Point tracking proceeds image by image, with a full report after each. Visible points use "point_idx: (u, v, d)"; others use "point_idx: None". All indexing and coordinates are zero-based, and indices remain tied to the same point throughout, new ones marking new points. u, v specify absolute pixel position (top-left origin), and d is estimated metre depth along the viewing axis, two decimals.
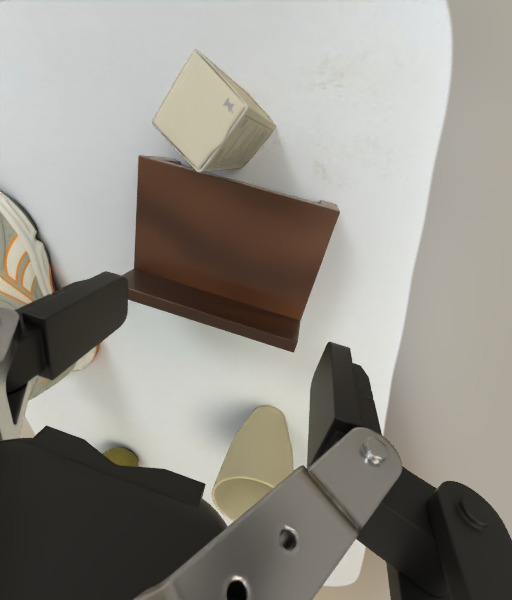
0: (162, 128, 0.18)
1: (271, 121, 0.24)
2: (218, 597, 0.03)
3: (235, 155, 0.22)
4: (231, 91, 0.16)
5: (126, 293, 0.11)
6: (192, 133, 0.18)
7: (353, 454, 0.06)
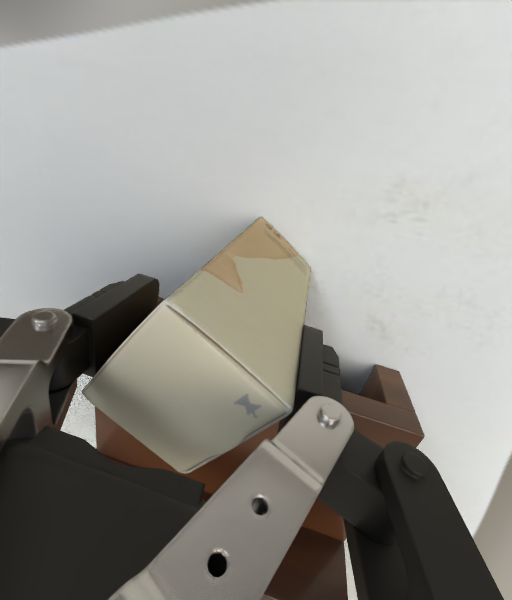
0: (104, 409, 0.08)
1: (307, 274, 0.15)
2: (199, 571, 0.03)
3: None
4: (253, 383, 0.07)
5: (157, 294, 0.12)
6: (167, 429, 0.08)
7: (311, 421, 0.06)
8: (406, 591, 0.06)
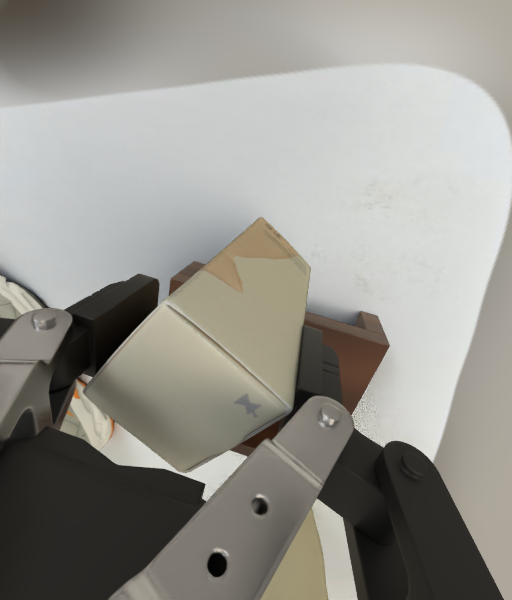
0: (104, 408, 0.08)
1: (307, 274, 0.15)
2: (199, 571, 0.03)
3: None
4: (253, 382, 0.07)
5: (157, 294, 0.12)
6: (167, 428, 0.08)
7: (311, 420, 0.06)
8: (406, 591, 0.06)
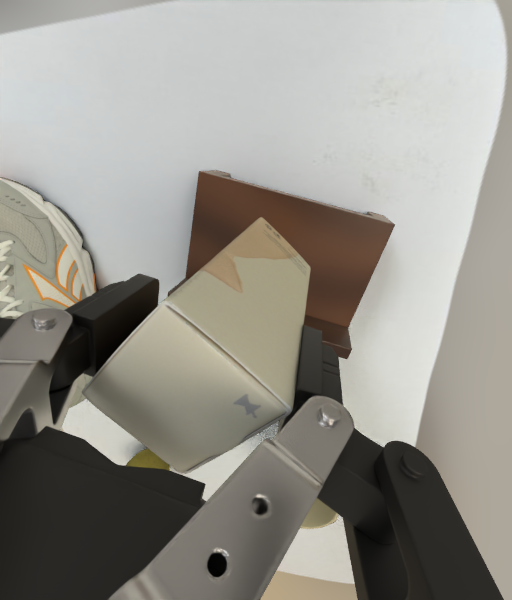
0: (103, 409, 0.08)
1: (307, 275, 0.15)
2: (199, 571, 0.03)
3: None
4: (253, 383, 0.07)
5: (157, 294, 0.12)
6: (167, 429, 0.08)
7: (311, 420, 0.06)
8: (406, 591, 0.06)
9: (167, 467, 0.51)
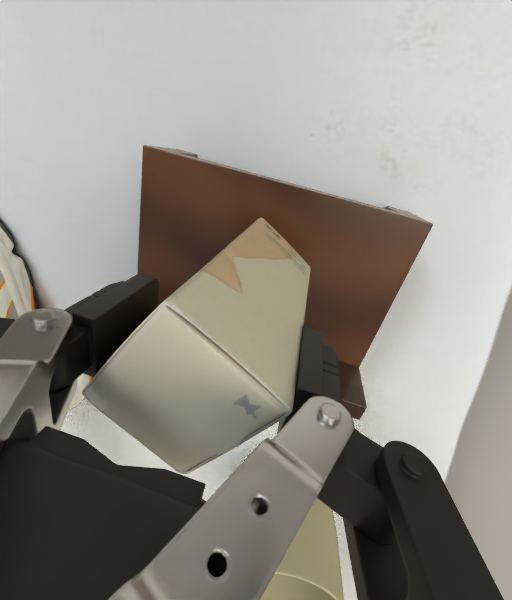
0: (104, 409, 0.08)
1: (306, 275, 0.15)
2: (199, 571, 0.03)
3: None
4: (253, 383, 0.07)
5: (157, 294, 0.12)
6: (167, 429, 0.08)
7: (311, 420, 0.06)
8: (406, 591, 0.06)
9: None
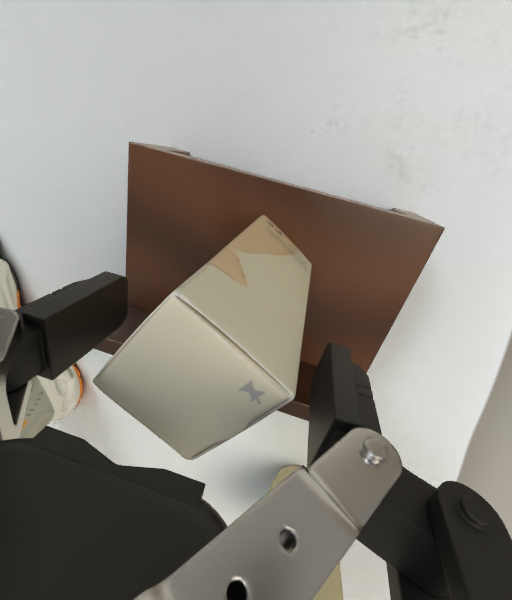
0: (114, 397, 0.09)
1: (308, 271, 0.15)
2: (218, 597, 0.03)
3: None
4: (257, 370, 0.07)
5: (126, 293, 0.11)
6: (175, 416, 0.09)
7: (353, 454, 0.06)
8: None
9: None
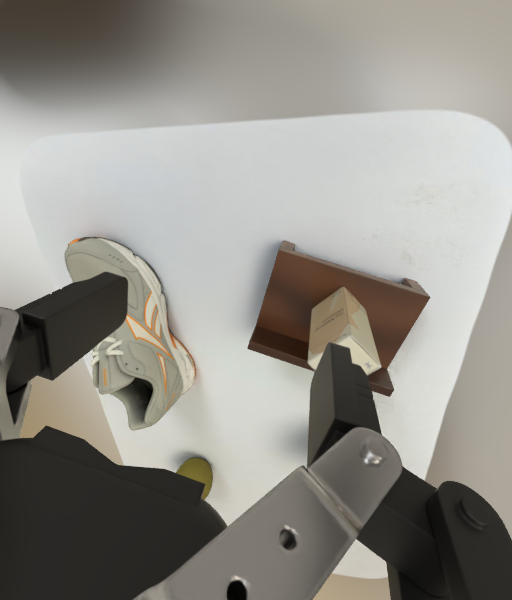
0: (315, 367, 0.26)
1: (366, 315, 0.33)
2: (218, 597, 0.03)
3: None
4: (371, 358, 0.24)
5: (126, 293, 0.11)
6: None
7: (353, 454, 0.06)
8: None
9: (211, 474, 0.58)
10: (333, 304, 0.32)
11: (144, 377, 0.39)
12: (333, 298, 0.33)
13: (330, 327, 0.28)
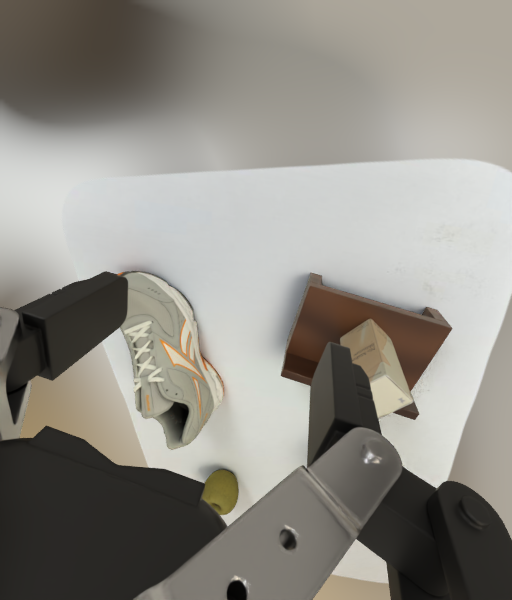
0: None
1: (392, 345, 0.35)
2: (218, 597, 0.03)
3: None
4: (404, 394, 0.27)
5: (126, 293, 0.11)
6: None
7: (353, 454, 0.06)
8: None
9: (237, 485, 0.61)
10: (362, 337, 0.34)
11: (182, 401, 0.42)
12: (361, 330, 0.35)
13: (363, 362, 0.30)
